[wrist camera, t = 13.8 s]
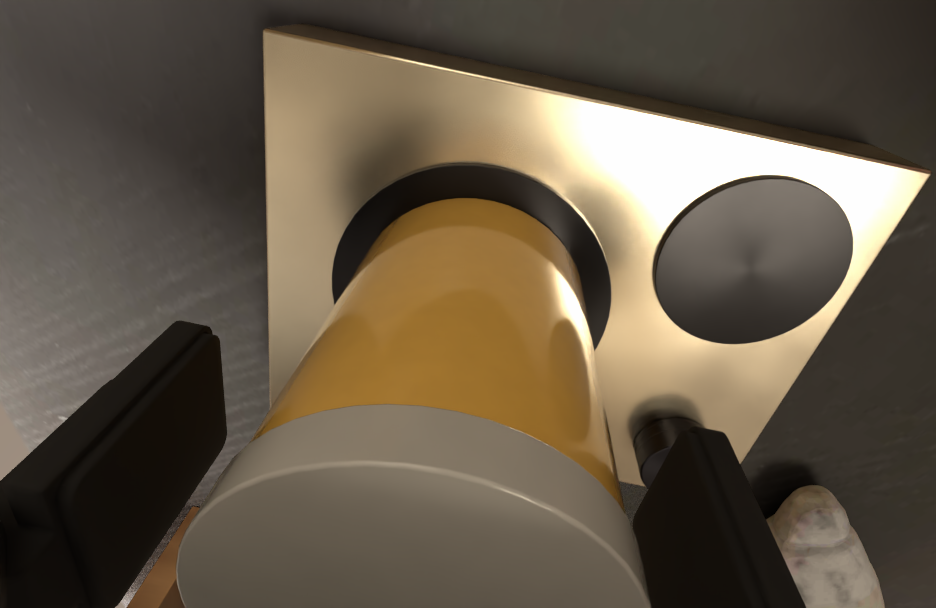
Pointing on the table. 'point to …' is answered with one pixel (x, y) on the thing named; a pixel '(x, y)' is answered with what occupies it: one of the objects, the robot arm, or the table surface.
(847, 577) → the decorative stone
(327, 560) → the jar
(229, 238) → the table surface
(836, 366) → the table surface
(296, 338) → the hob
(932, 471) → the table surface
